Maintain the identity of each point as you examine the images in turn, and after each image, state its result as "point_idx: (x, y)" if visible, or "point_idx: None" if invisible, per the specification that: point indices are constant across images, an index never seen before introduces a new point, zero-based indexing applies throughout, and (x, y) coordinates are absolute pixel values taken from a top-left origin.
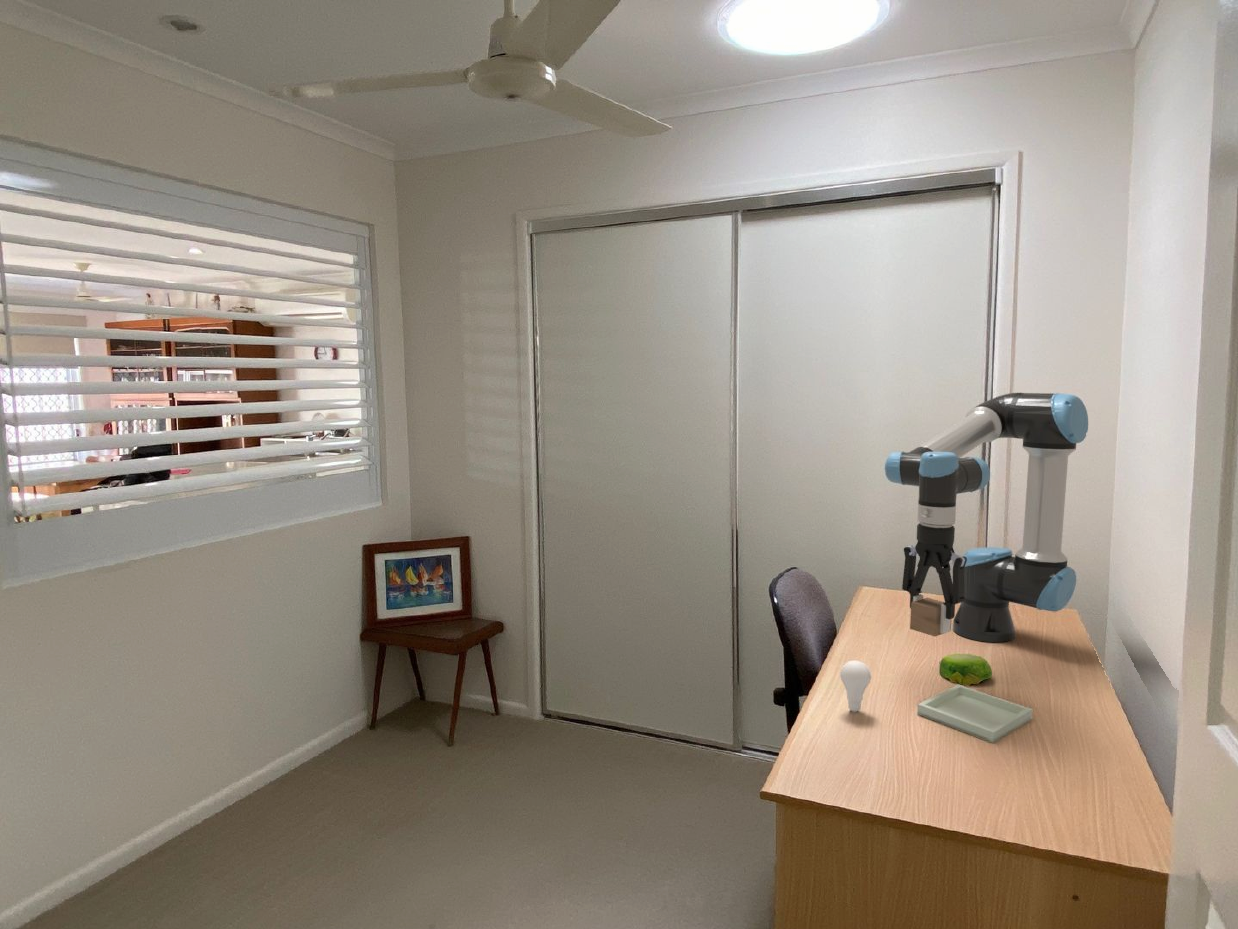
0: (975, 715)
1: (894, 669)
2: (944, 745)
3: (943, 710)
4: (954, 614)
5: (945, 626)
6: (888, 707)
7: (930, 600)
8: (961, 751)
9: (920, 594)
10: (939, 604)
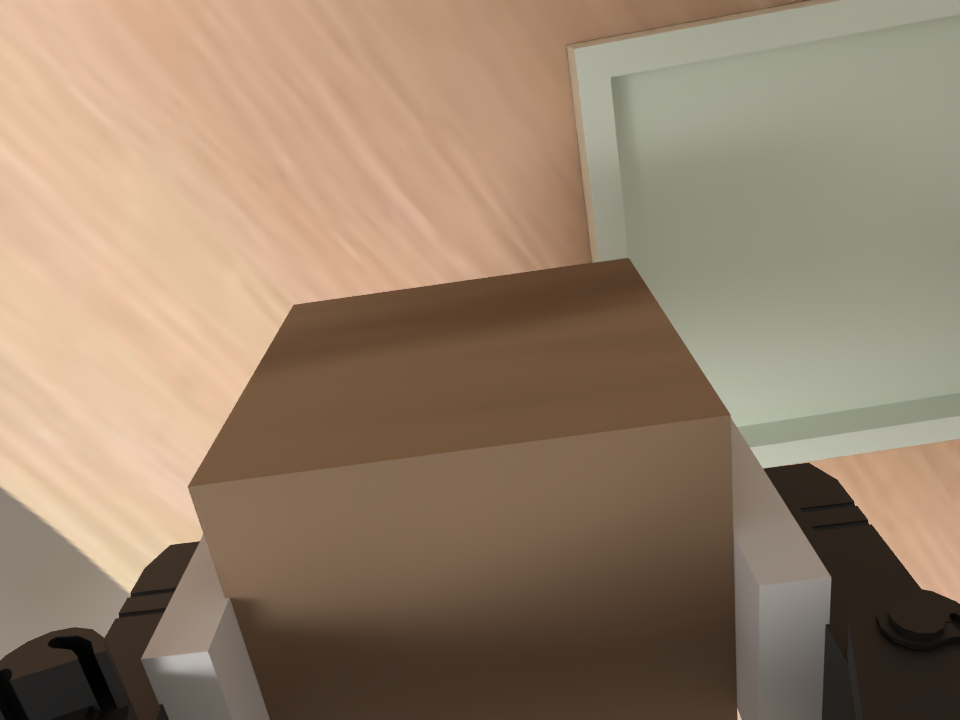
0: (832, 250)
1: (64, 87)
2: None
3: (688, 349)
4: (848, 496)
5: None
6: None
7: (361, 569)
8: (948, 557)
9: (155, 670)
10: (605, 607)
